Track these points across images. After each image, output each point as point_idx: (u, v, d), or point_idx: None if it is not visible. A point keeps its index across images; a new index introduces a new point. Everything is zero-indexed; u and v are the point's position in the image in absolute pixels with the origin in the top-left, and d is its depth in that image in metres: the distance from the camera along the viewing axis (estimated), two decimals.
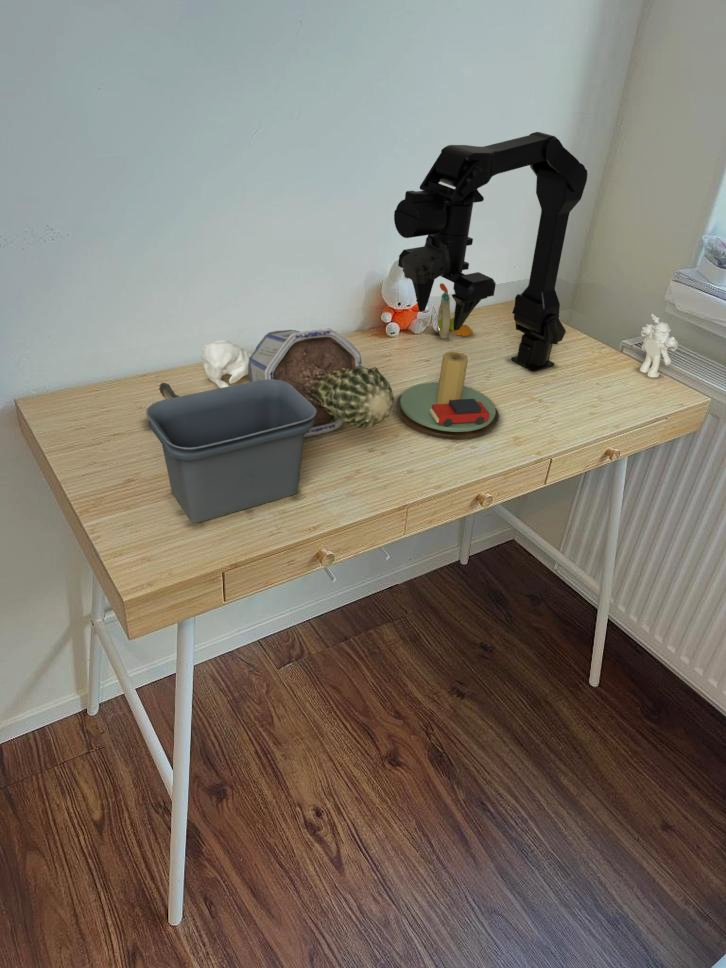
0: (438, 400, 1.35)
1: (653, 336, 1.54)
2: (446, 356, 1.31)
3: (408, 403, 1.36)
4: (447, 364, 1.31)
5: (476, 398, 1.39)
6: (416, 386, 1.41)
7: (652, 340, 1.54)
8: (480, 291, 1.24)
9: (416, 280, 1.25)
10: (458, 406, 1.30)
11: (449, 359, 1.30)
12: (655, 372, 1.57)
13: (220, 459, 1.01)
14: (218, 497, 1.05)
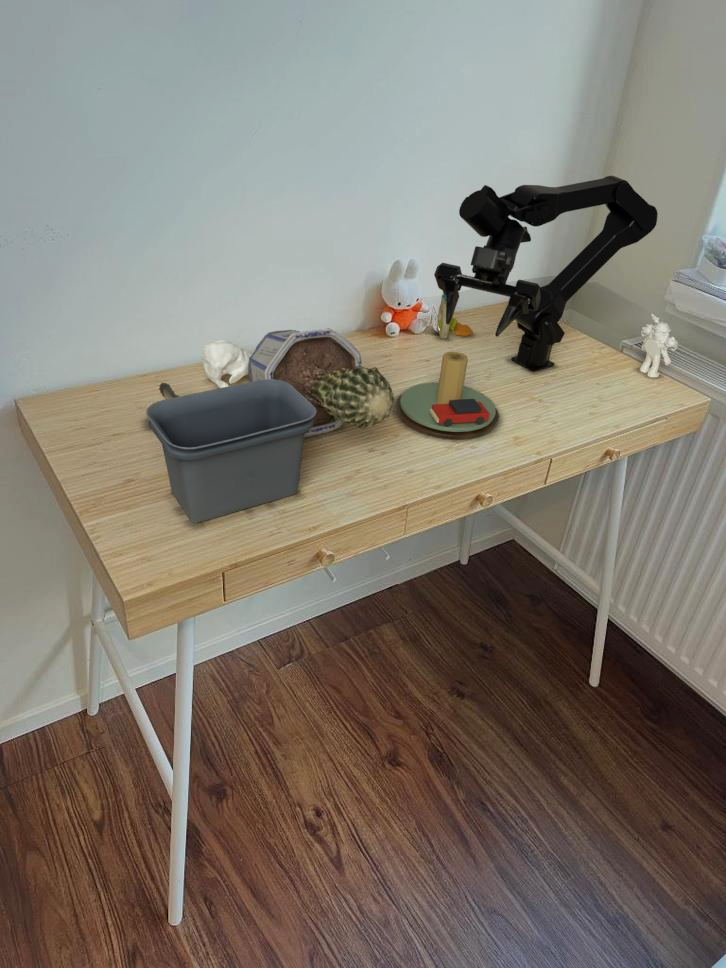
0: (438, 400, 1.35)
1: (653, 336, 1.54)
2: (446, 356, 1.31)
3: (408, 403, 1.36)
4: (447, 364, 1.31)
5: (476, 398, 1.39)
6: (416, 386, 1.41)
7: (652, 340, 1.54)
8: (538, 295, 1.33)
9: (491, 265, 1.29)
10: (458, 406, 1.30)
11: (449, 359, 1.30)
12: (655, 372, 1.57)
13: (220, 459, 1.01)
14: (218, 497, 1.05)
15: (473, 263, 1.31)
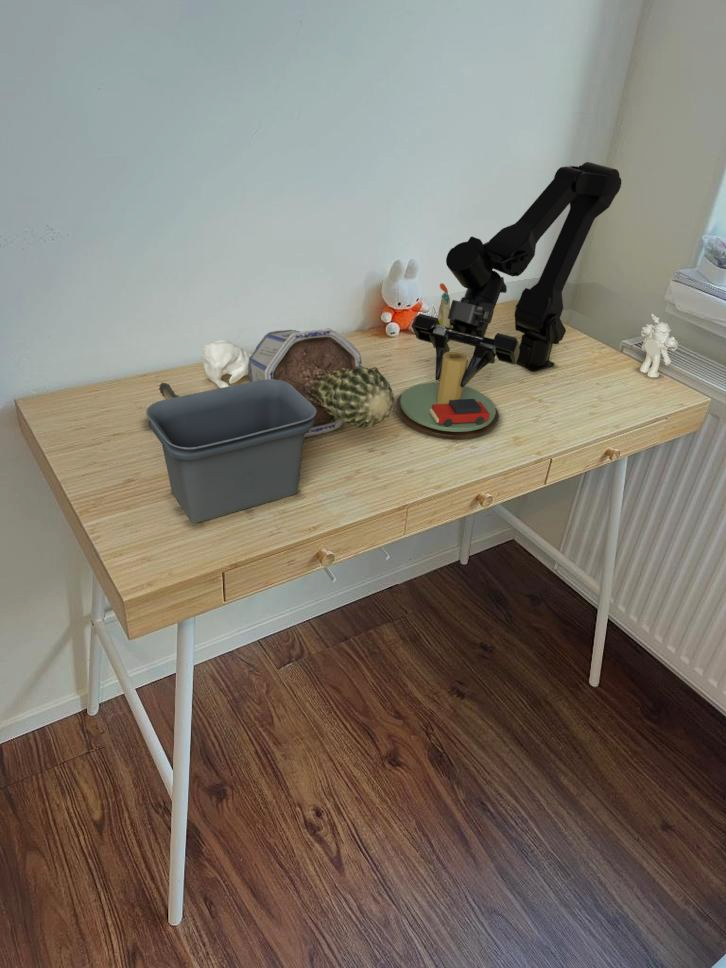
0: (438, 400, 1.35)
1: (653, 336, 1.54)
2: (446, 356, 1.31)
3: (408, 403, 1.36)
4: (447, 364, 1.31)
5: (476, 398, 1.39)
6: (416, 386, 1.41)
7: (652, 340, 1.54)
8: (517, 349, 1.31)
9: (468, 320, 1.27)
10: (458, 406, 1.30)
11: (449, 359, 1.30)
12: (655, 372, 1.57)
13: (220, 459, 1.01)
14: (218, 497, 1.05)
15: (450, 317, 1.28)
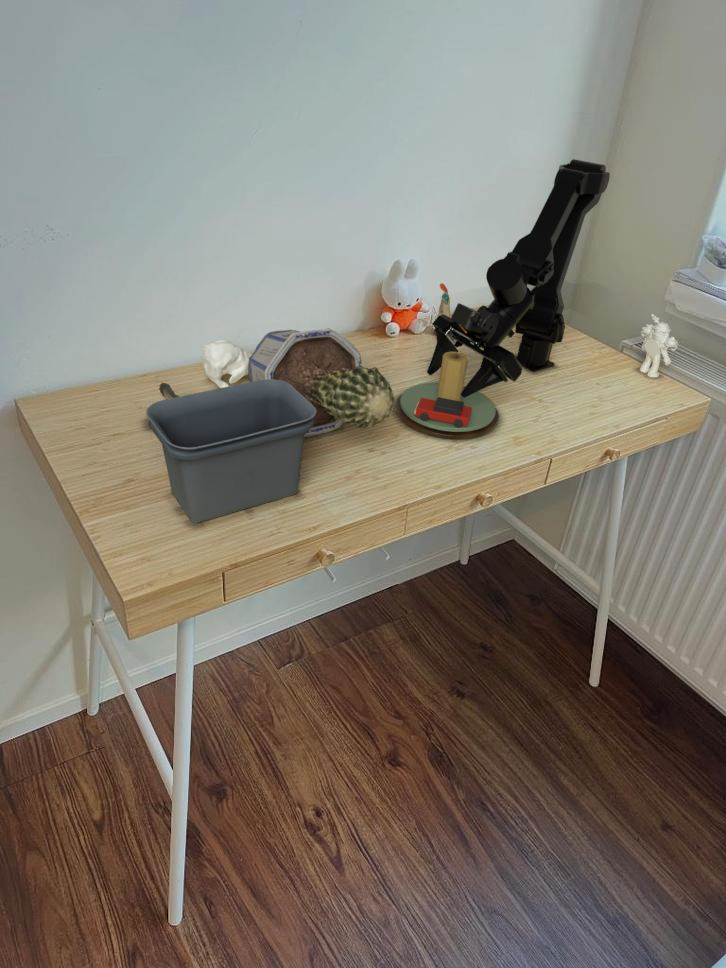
0: (436, 397, 1.36)
1: (653, 336, 1.54)
2: (446, 354, 1.32)
3: (410, 394, 1.39)
4: (444, 362, 1.31)
5: (482, 406, 1.37)
6: (435, 383, 1.43)
7: (652, 340, 1.54)
8: (512, 365, 1.27)
9: (464, 324, 1.27)
10: (440, 403, 1.30)
11: (446, 357, 1.31)
12: (655, 372, 1.57)
13: (220, 459, 1.01)
14: (218, 497, 1.05)
15: (451, 319, 1.29)
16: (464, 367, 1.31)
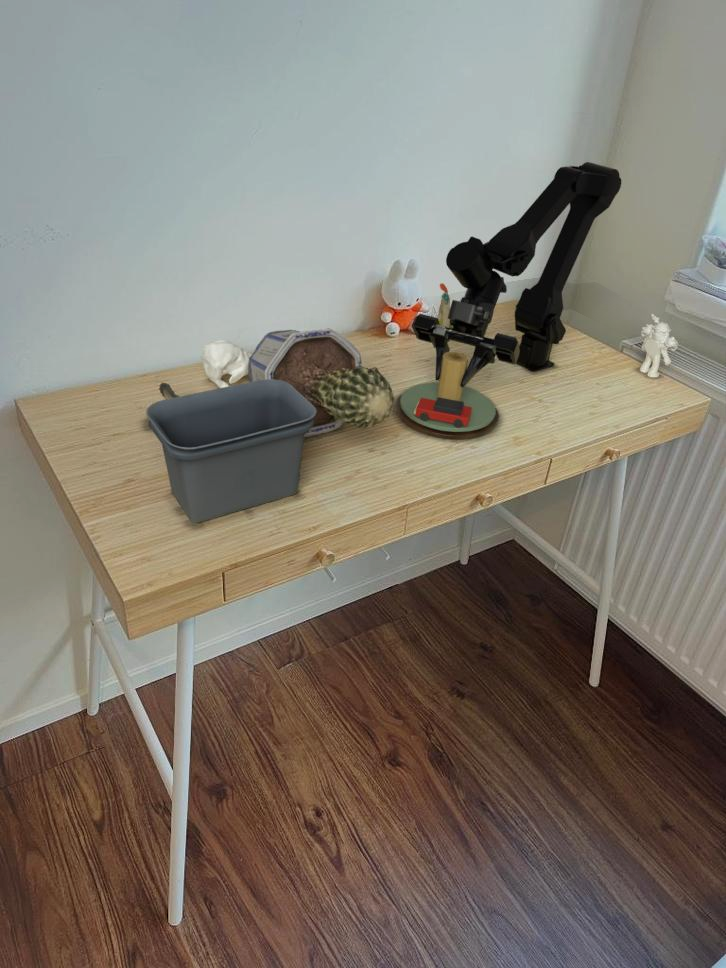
0: (436, 397, 1.36)
1: (653, 336, 1.54)
2: (446, 354, 1.32)
3: (410, 394, 1.39)
4: (444, 362, 1.31)
5: (482, 406, 1.37)
6: (435, 383, 1.43)
7: (652, 340, 1.54)
8: (517, 349, 1.31)
9: (468, 320, 1.27)
10: (439, 403, 1.30)
11: (446, 357, 1.31)
12: (655, 372, 1.57)
13: (220, 459, 1.01)
14: (218, 497, 1.05)
15: (450, 317, 1.28)
16: (464, 367, 1.31)
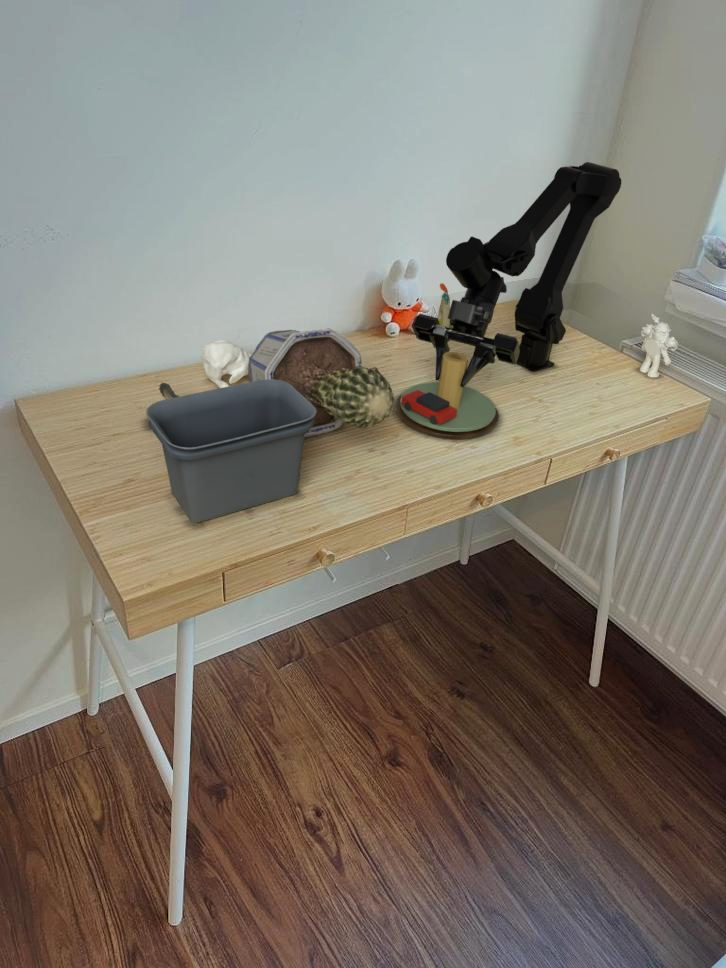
0: None
1: (653, 336, 1.54)
2: (449, 353, 1.33)
3: (421, 387, 1.41)
4: (443, 359, 1.32)
5: (479, 415, 1.34)
6: None
7: (652, 340, 1.54)
8: (517, 349, 1.31)
9: (468, 320, 1.27)
10: (424, 397, 1.32)
11: (445, 355, 1.32)
12: (655, 372, 1.57)
13: (220, 459, 1.01)
14: (218, 497, 1.05)
15: (450, 317, 1.28)
16: (459, 368, 1.31)
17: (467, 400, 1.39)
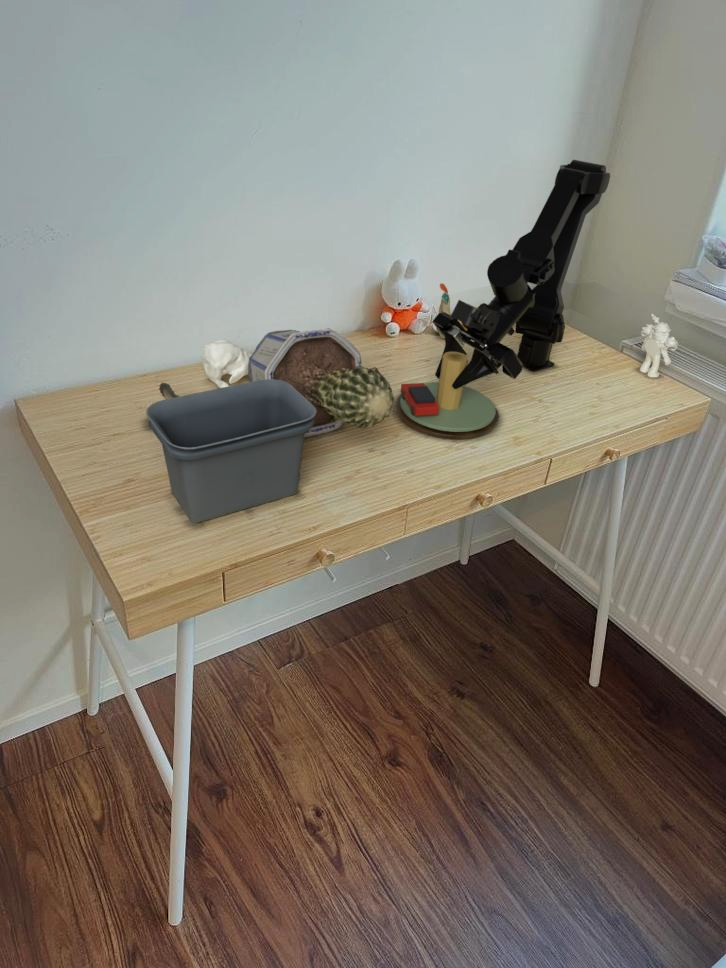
0: None
1: (653, 336, 1.54)
2: (453, 352, 1.33)
3: None
4: None
5: (467, 420, 1.32)
6: (478, 392, 1.41)
7: (652, 340, 1.54)
8: (512, 363, 1.26)
9: (464, 321, 1.26)
10: (415, 388, 1.34)
11: (447, 353, 1.32)
12: (655, 372, 1.57)
13: (220, 459, 1.01)
14: (218, 497, 1.05)
15: (451, 316, 1.28)
16: (453, 368, 1.31)
17: (471, 406, 1.37)
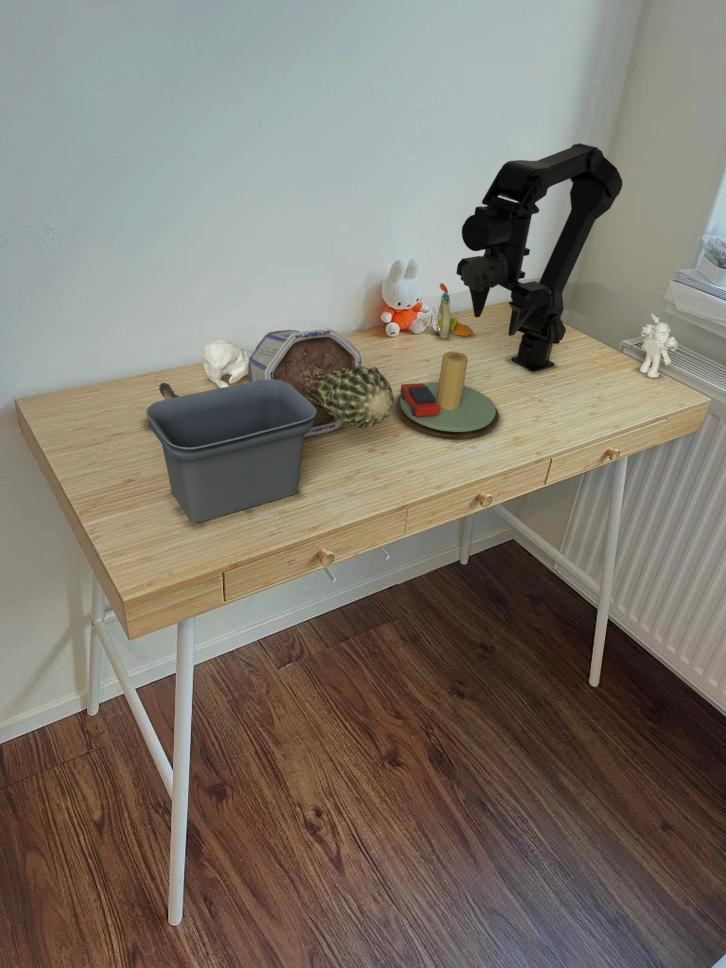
0: None
1: (653, 336, 1.54)
2: (453, 352, 1.33)
3: (439, 385, 1.43)
4: None
5: (468, 420, 1.32)
6: (477, 392, 1.41)
7: (652, 340, 1.54)
8: (536, 299, 1.30)
9: (475, 288, 1.32)
10: (415, 389, 1.34)
11: (447, 353, 1.32)
12: (655, 372, 1.57)
13: (220, 459, 1.01)
14: (218, 497, 1.05)
15: (464, 283, 1.34)
16: (453, 368, 1.30)
17: (471, 406, 1.37)
